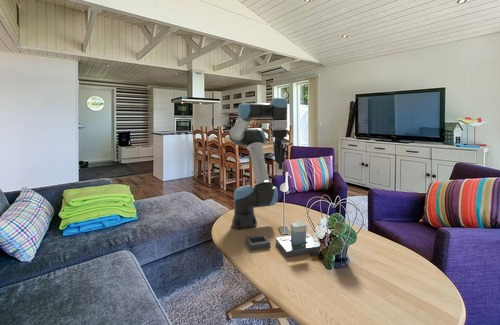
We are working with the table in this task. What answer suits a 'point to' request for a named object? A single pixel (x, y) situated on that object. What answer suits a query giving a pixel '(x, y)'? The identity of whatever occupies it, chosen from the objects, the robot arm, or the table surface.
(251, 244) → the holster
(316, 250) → the port panel
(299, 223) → the plug
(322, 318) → the table surface
